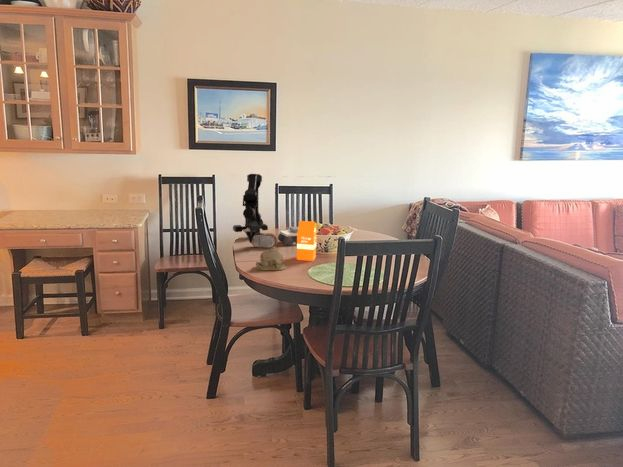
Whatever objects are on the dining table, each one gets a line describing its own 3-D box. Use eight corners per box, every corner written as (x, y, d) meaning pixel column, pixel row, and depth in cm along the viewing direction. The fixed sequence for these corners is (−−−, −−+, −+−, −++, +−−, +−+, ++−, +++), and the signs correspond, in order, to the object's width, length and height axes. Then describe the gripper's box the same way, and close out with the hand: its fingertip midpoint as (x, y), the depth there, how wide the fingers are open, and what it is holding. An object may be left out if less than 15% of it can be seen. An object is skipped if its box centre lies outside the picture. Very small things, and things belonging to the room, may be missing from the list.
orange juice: (313, 261, 241) (314, 223, 237) (296, 259, 243) (297, 222, 239) (315, 257, 249) (317, 220, 244) (299, 255, 250) (300, 219, 246)
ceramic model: (281, 263, 235) (281, 244, 233) (288, 270, 225) (288, 250, 223) (254, 266, 230) (254, 246, 228) (260, 272, 220) (260, 252, 218)
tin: (277, 247, 266) (277, 233, 264) (276, 249, 263) (276, 234, 261) (251, 246, 268) (251, 232, 266) (250, 247, 265) (250, 233, 263)
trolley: (277, 242, 280) (278, 227, 278) (297, 240, 285) (297, 226, 283) (284, 246, 270) (284, 231, 268) (304, 244, 276) (304, 229, 274)
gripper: (238, 218, 247) (238, 247, 251) (271, 217, 255) (270, 244, 258) (232, 215, 257) (232, 242, 260) (264, 213, 265) (264, 240, 268)
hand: (250, 242), depth 262 cm, fingers closed
